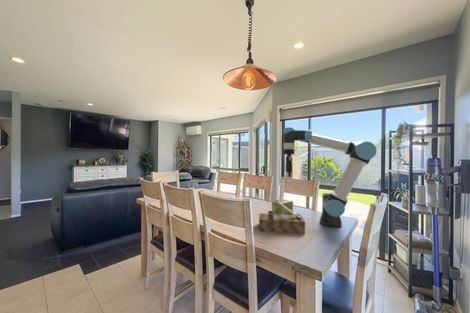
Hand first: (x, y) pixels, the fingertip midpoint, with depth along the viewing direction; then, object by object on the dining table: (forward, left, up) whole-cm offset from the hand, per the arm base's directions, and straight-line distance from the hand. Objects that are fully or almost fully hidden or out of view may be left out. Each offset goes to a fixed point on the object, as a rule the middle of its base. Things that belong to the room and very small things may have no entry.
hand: (288, 180), depth 151 cm
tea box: (+3, -13, -33) cm, 36 cm away
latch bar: (+2, +7, -19) cm, 21 cm away
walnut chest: (+6, +7, -33) cm, 34 cm away
